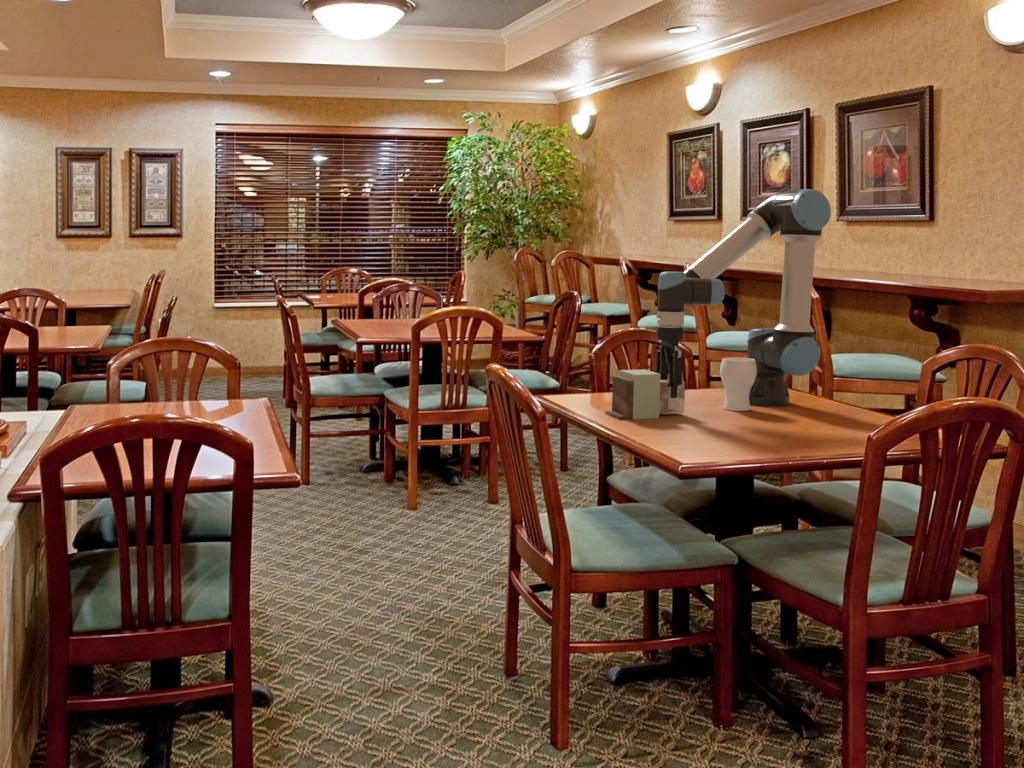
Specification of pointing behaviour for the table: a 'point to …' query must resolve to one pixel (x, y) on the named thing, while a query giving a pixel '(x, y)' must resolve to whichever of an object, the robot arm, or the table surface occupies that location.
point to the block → (644, 392)
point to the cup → (737, 381)
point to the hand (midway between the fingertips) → (667, 407)
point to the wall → (622, 398)
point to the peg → (663, 398)
